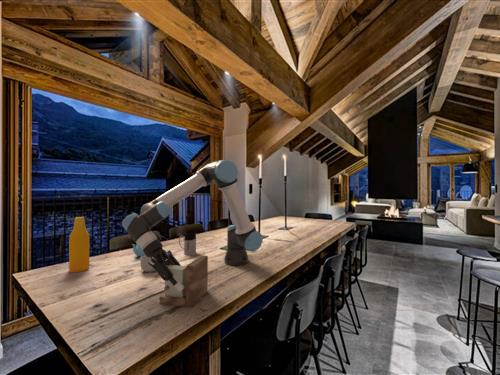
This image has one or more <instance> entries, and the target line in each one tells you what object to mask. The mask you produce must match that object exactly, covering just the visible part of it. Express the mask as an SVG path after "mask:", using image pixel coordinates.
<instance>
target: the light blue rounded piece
mask: <svg viewBox="0 0 500 375" xmlns="http://www.w3.org/2000/svg"><path fill="white" fill-rule="evenodd" d="M135 243H136V242H135ZM131 245H132V251H133V253H134V255H135V256H136V257H137V258H140V257H142V256H144V255H145V253H144V252H143V250H141V248H140V247H139V246H138V245H137V243H136V244H134V243H131Z"/></svg>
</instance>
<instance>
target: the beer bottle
mask: <svg viewBox="0 0 500 375" xmlns="http://www.w3.org/2000/svg"><path fill="white" fill-rule="evenodd" d="M85 222H86V221H85V216H79V217H78V216H76V217H74V223H73V227H72V228H73V229H72V230H71V232H70V234H69V238H68V243H69V244H68V254H69V255H68V258H69V259H68V261H69V262H68V270H69V272H70V273H80V272H85V271H87V270H88V269H89V268H90V234H89V232H88V230H87V228H86V223H85Z"/></svg>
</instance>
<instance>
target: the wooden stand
mask: <svg viewBox="0 0 500 375" xmlns="http://www.w3.org/2000/svg"><path fill="white" fill-rule="evenodd" d="M208 262H209V256H208V255H203V254H202V255H200V256H198V257H197V258H196V259H194V260H192V262H189V263H188V264H187V265H185V266H186V296H185V297H184V298H179V297H171V296H165V294H164V295H163V294H162V295H160V296H159V304H163V305H169V306H177V307H178V306H179V307H186V308H187V307H189V308H191V307H192V308H194V307H195V306H196V304H197V303H198V302H199V301H200V300H201V299H202V298H203V297H204V296H205V294H207V292H208V285H209V284H208V280H209V279H208V278H209V277H208V272H209V271H208V268H209V267H208V264H209V263H208Z"/></svg>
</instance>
